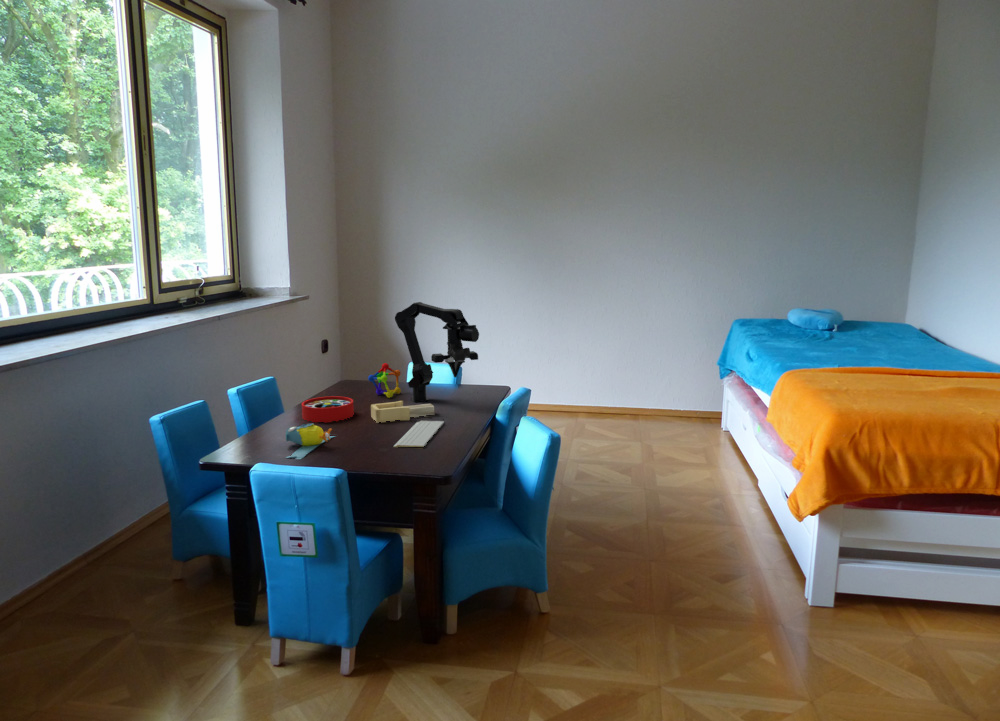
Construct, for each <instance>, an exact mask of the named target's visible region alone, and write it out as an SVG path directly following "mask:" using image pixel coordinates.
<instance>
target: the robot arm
mask: <svg viewBox="0 0 1000 721" xmlns="http://www.w3.org/2000/svg"><path fill="white" fill-rule="evenodd" d="M421 314H423V315H426V316H430V317H434V318H438V319H439V320H440V321H442V322H443V323H445V325H444V326H442V329H443V330H446V332H447V341H446V345H447V352H446V354H442V353H432V355H431V357H430V358H431V361H432V362H433V363H437V364H438V363H443V362H445V363H446V364H448V366H449V368H450V370H451V373H452V376H453V377H454V378H457V376H458V374H459V371H460V368H461V366H462V365H463V364H464V363H466V359H469V360H471V361H475V360H477V361H478V360H479V354H478V353H477V352H476V351H473V350H472V351H471V349H470V347H463V342H472V343H477V342H478V340H479V337H480V331H479V330H478V328H477V325H476V324H469V323H468V321H467V319H466V318H465V316H464V313H463V311H462V310H461V309H458V308H442V307H440V306H439V307H438V306H434V305H432V304H431V305H430V304H427V303H423V302H421V301H418V302H413V303H411V304H410V305H409V306H408V307H406V308H404V309H403V310H401V311H398V312H396V314H395V316H394V321H395V323H396V325H397V327H398V329H399V330H400V331H401V333H402V334H403V336H404V340H405V342H406V346H407V350H408V352H409V355H410V358H411V362H412V371H411V374H412V375H411V376H412V378H410V380H409V381H408V382H407V384H408V388H409V389H412V397H411V398H410V400H411V401H412V402H414V403H418V402H419V403H420V402H421V403H422V402H429V400H430V399H429V398H427V386H429V385H430V383H431V381H432V379H433V376H434V374H433V373H434V372H433V370H432V365H431V364H429V363H428V364H427V363H426V362H425V359H424V357H423V356H424V355H423V353H422V350H421V347H420V344H419V340H418V337H417V334H416V330H415V328H416V323H417V322H416V318H417V317H418V316H419V315H421Z"/></svg>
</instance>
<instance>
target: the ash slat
mask: <svg viewBox="0 0 1000 721" xmlns="http://www.w3.org/2000/svg"><path fill="white" fill-rule="evenodd" d="M402 407H409V408H410V417H414V418H420V417H419V416H424V417H427V416H426V415H434V416H435V406H434V405H433V404H432V403H424V404H416V405H415V404H414V405H403V406H402ZM392 408H394V407H392ZM382 409H384V408H382Z"/></svg>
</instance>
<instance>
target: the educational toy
mask: <svg viewBox="0 0 1000 721" xmlns="http://www.w3.org/2000/svg"><path fill="white" fill-rule="evenodd" d="M389 365H390V364H388V363H387V362H385V363H382V364H381V368H380V369H379V370H378V371H377V372H375V374H369V375H368V377H367V380H368V382H371V383H372V384H373V386H374V387H375V389H376V390H375V394H376V395H377V396H382V395H385V396H386V398H388V399H391V398H392V397H393V396H394V394H396V395H400V393H401V391H402V389H401V388H400V387H399V377H400V375H401V374H402V373H401V371H400V370H399V369H396V370H394V369H392V368H391V367H390V366H389ZM387 370H388V371H390V372H387ZM388 376H395V387H394V389H390V388H389V386H388V383H387V381H388ZM376 380H377V381H378V384H377V383H376ZM382 383H384V386H385V389H384V390H383V389H382V387H381V386H382ZM390 397H391V398H390Z"/></svg>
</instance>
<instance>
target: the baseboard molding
mask: <svg viewBox="0 0 1000 721" xmlns="http://www.w3.org/2000/svg"><path fill="white" fill-rule="evenodd" d="M416 419H417V420H419V417H416ZM416 419H415V420H413V421H414V422H415V423H414V424H413V425H412V426H411V427H410V428H409V430H408V431H407V432H405V434H403V436H402V437H401V438H400V439H399V440H398V441H397V442H396V443H395V444H394V445H393V447H392V448H398V447H424V446H425V447H426V445H427V444H428V443H429V442H430V441H431V440H432V439H433V437H434V436H435V435H434V434H437V433H438V431H439V430H440V429H441V427H442V426H443V425H444V424H445V421H444V420H445V419H444V418H442V420H433V416H429V419H430V420H420V421H416ZM439 428H440V429H439ZM438 429H439V430H438ZM433 435H434V436H433ZM429 440H430V441H429ZM428 441H429V442H428ZM427 442H428V443H427ZM425 447H424V448H425Z"/></svg>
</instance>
